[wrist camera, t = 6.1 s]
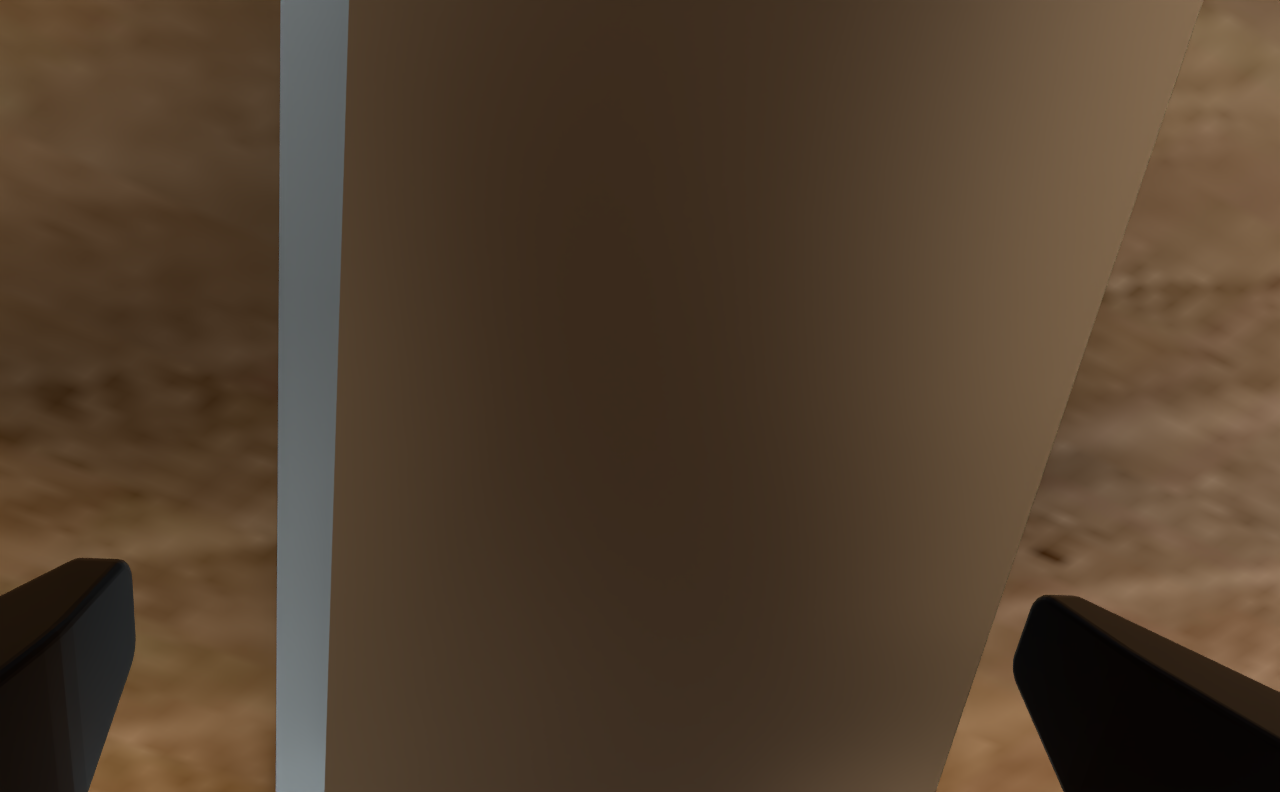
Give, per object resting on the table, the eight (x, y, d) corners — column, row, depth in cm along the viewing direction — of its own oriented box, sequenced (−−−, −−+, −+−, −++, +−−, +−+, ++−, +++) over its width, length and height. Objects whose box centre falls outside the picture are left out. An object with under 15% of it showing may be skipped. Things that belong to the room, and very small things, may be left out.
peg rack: (962, -211, 12) (1525, -459, 5) (719, 829, 18) (849, 1276, 12) (300, -361, 10) (6, -963, 4) (286, 837, 17) (166, 1359, 10)
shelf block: (920, 1, 9) (1203, -2, 6) (712, 881, 14) (797, 1199, 10) (408, -89, 8) (354, -161, 5) (358, 891, 13) (310, 1248, 9)
